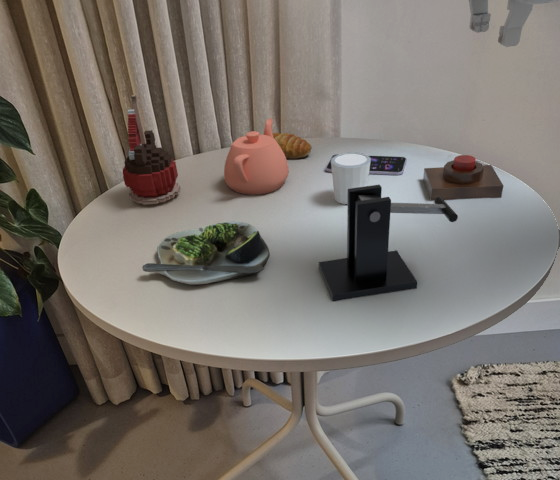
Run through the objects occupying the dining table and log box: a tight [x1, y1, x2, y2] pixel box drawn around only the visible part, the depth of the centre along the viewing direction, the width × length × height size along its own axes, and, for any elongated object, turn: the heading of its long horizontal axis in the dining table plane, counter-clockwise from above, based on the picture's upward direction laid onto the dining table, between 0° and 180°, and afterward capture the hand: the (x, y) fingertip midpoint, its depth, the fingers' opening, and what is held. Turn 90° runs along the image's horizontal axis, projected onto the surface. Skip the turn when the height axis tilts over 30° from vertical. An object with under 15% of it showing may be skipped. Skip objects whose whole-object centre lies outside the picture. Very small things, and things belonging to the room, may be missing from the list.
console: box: [422, 159, 504, 202], centre depth 101 cm, size 12×9×4 cm
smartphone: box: [325, 153, 408, 176], centre depth 113 cm, size 8×1×15 cm
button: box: [453, 154, 477, 171], centre depth 100 cm, size 4×4×2 cm
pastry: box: [272, 132, 313, 160], centre depth 119 cm, size 9×7×4 cm
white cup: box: [331, 151, 371, 205], centre depth 101 cm, size 7×7×7 cm
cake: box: [122, 94, 181, 205], centre depth 103 cm, size 11×9×18 cm
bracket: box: [318, 184, 418, 302], centre depth 79 cm, size 12×9×13 cm
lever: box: [357, 195, 459, 223], centre depth 77 cm, size 13×6×2 cm, turn 100°
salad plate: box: [142, 220, 271, 285], centre depth 88 cm, size 19×18×5 cm
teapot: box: [223, 117, 290, 195], centre depth 108 cm, size 12×18×10 cm
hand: (492, 37), depth 66 cm, fingers open, 6 cm apart
